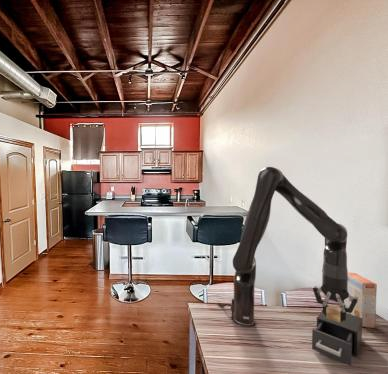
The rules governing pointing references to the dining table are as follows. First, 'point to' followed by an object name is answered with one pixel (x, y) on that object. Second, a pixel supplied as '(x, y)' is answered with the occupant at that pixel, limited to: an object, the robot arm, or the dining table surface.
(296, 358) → the dining table surface
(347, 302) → the cracker box
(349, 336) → the drawer
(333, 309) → the block
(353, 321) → the dark grey box
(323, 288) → the robot arm
